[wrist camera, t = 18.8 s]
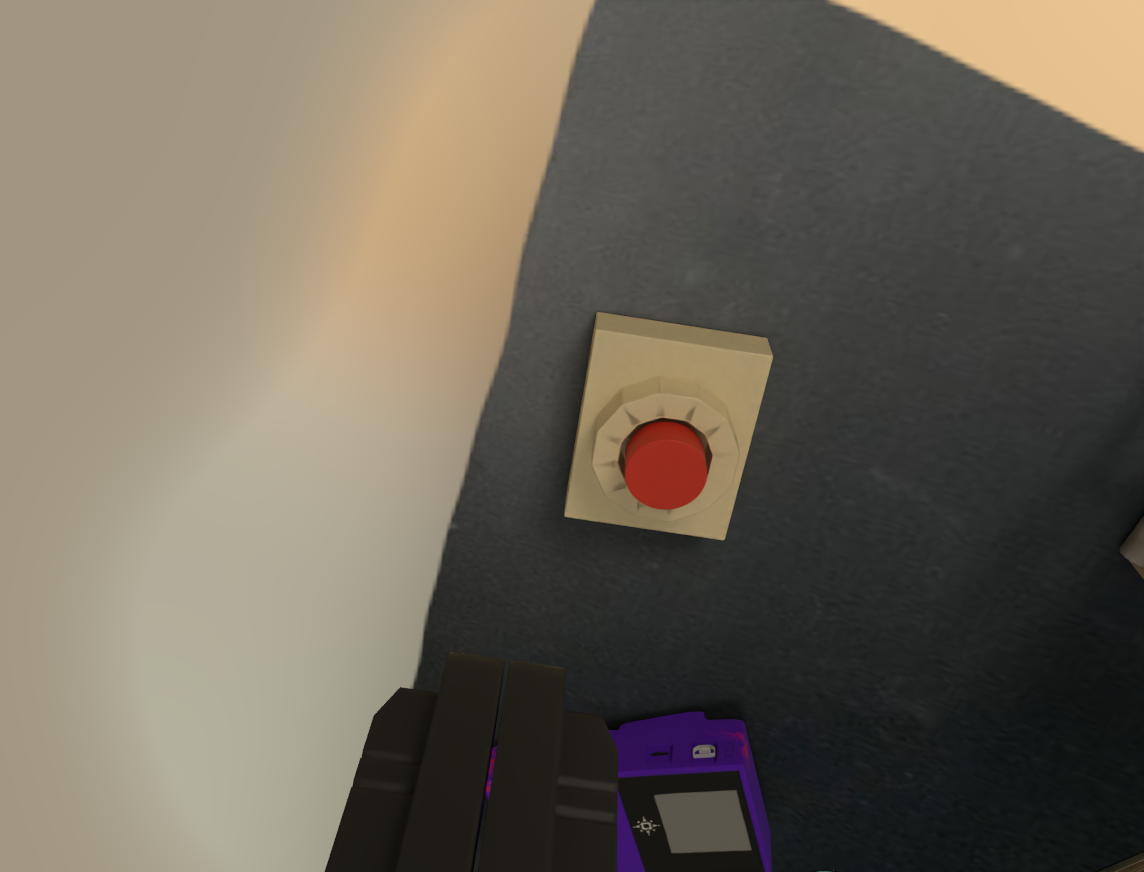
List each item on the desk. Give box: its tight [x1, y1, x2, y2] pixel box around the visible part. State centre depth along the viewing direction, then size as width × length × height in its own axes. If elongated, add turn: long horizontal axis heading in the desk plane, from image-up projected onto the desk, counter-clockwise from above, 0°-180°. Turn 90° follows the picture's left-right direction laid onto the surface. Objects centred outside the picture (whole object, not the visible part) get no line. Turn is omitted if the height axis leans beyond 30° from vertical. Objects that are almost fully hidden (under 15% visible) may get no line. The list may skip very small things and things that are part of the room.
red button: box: [625, 422, 707, 510], centre depth 43 cm, size 4×4×2 cm
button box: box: [564, 312, 773, 540], centre depth 46 cm, size 10×8×4 cm
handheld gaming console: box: [486, 712, 771, 872], centre depth 57 cm, size 9×5×15 cm
